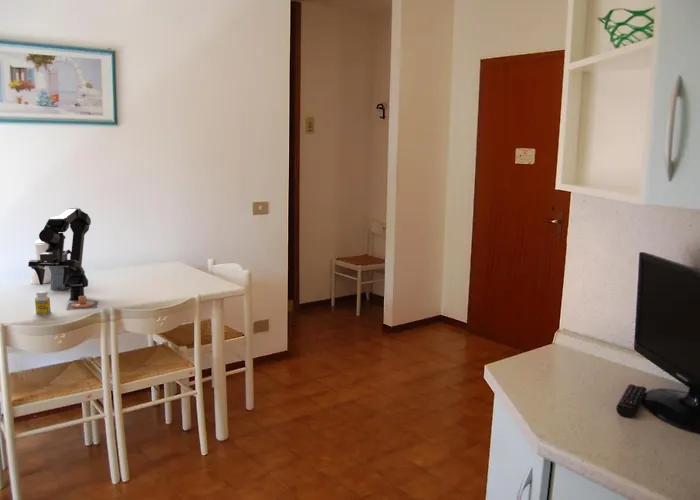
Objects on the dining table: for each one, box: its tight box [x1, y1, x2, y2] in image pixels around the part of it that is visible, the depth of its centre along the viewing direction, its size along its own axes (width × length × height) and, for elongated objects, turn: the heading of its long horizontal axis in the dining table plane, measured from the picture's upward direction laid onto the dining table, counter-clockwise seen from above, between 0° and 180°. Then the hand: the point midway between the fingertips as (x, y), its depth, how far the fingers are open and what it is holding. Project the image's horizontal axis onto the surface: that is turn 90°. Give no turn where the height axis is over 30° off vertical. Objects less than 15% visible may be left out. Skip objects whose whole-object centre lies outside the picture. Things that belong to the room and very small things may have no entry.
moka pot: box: [49, 249, 71, 291], centre depth 290 cm, size 10×15×20 cm, turn 158°
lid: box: [71, 295, 94, 308], centre depth 260 cm, size 9×9×4 cm
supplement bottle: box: [34, 290, 52, 316], centre depth 247 cm, size 5×5×10 cm
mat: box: [66, 300, 99, 311], centre depth 260 cm, size 12×12×1 cm
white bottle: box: [30, 238, 51, 285], centre depth 301 cm, size 12×11×25 cm
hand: (52, 284), depth 244 cm, fingers open, 9 cm apart
